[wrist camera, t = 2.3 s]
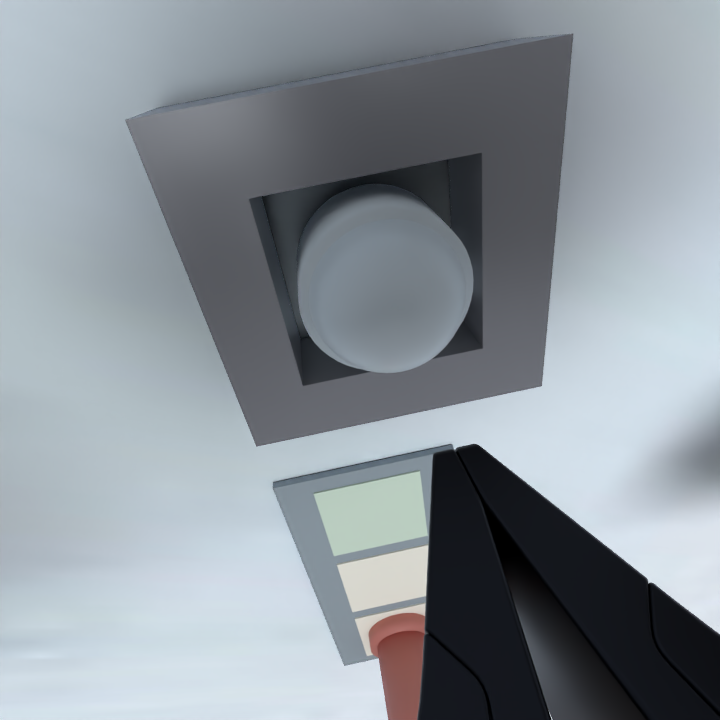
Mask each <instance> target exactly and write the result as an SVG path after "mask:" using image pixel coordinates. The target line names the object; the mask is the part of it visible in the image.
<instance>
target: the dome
mask: <svg viewBox="0 0 720 720" xmlns="http://www.w3.org/2000/svg"><path fill="white" fill-rule="evenodd" d="M296 260H297V281H298V301H299V309H300V315H301V318H302V321H303V324H304V326H305V328H306V330H307V332H308V334H309V336H310V337H311V338H312V340H313V341H314V343H315V344H316V345H317V346H318V347H319V348H320V349H321V350H322V351H323V352H325V353H326V354H327V355H328V356H330V357H331V358H333V359H335V360H336V361H338V362H340V363H343V364H345V365H347V366H351V367H354V368H357V369H363V370H366V371H371V372H377V373H397V372H403V371H407V370H410V369H413V368H416V367H418V366H420V365H422V364H424V363H426V362H428V361H429V360H431V359H432V358H434V357H435V356H436V355H437V354H439V353H440V352H441V351H442V350H443V349H444V348H445V347H446V346H447V344H448V343H449V342H450V341H451V339H452V338H453V336H454V335H455V333H456V331H457V330H458V328H459V326H460V325H461V323H462V322H463V320H464V318H465V316H466V314H467V311H468V309H469V306H470V302H471V298H472V293H473V269H472V265H471V261H470V258H469V255H468V253H467V250H466V248H465V247H464V245H463V243H462V242H461V240H460V239H459V238H458V236H457V235H456V234H455V233H454V232H453V231H452V230H451V228H450V227H449V226H448V225H447V224H446V223H445V222H444V221H443V220H442V219H441V218H440V217H439V216H438V215H437V214H436V213H435V212H434V211H433V210H432V209H431V208H430V207H429V206H428V205H427V204H426V203H425V202H424V201H423V200H422V199H420V198H419V197H417V196H416V195H414V194H413V193H411V192H409V191H407V190H405V189H403V188H399V187H396V186H392V185H386V184H367V185H360V186H356V187H353V188H349V189H347V190H345V191H342V192H340V193H338V194H337V195H335V196H333V197H332V198H330V199H329V200H328V201H326V202H325V203H324V204H323V205H322V206H321V207H320V208H319V209H318V210H317V211H316V212H315V213H314V214H313V216H312V217H311V218H310V220H309V221H308V223H307V225H306V226H305V228H304V230H303V232H302V235H301V238H300V241H299V245H298V249H297V259H296Z"/></svg>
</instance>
